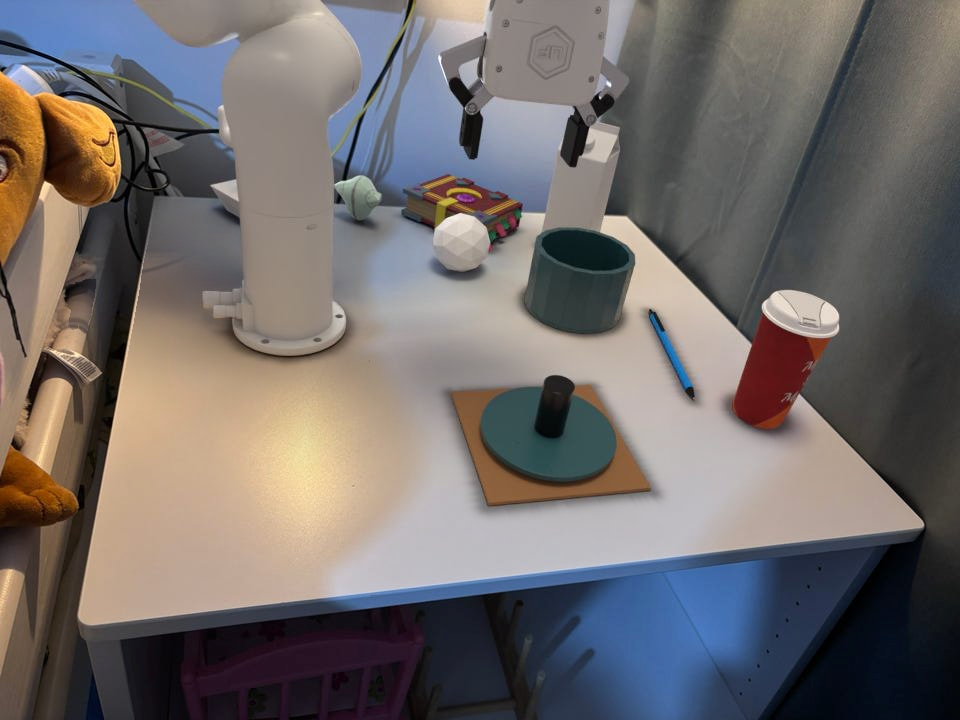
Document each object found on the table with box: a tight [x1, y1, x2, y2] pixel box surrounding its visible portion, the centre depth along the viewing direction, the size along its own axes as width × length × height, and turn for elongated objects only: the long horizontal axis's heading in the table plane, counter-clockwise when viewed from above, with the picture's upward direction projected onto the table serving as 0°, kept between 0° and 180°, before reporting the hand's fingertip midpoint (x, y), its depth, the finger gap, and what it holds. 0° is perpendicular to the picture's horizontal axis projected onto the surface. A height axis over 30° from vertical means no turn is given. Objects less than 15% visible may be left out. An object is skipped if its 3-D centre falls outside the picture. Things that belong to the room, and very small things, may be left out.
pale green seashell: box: [334, 175, 383, 221], centre depth 106 cm, size 8×4×7 cm, turn 65°
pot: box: [524, 227, 636, 334], centre depth 92 cm, size 13×13×8 cm
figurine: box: [209, 104, 240, 219], centre depth 101 cm, size 7×9×15 cm
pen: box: [648, 308, 696, 400], centre depth 88 cm, size 1×19×1 cm, turn 4°
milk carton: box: [541, 120, 621, 233], centre depth 105 cm, size 7×7×19 cm
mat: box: [450, 384, 652, 507], centre depth 72 cm, size 16×16×1 cm
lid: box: [480, 374, 617, 482], centre depth 70 cm, size 14×14×7 cm
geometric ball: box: [431, 213, 491, 273], centre depth 98 cm, size 8×8×8 cm
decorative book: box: [400, 173, 524, 252], centre depth 110 cm, size 11×16×5 cm
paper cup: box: [732, 289, 840, 430], centre depth 76 cm, size 8×8×14 cm
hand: (519, 158), depth 67 cm, fingers open, 9 cm apart
